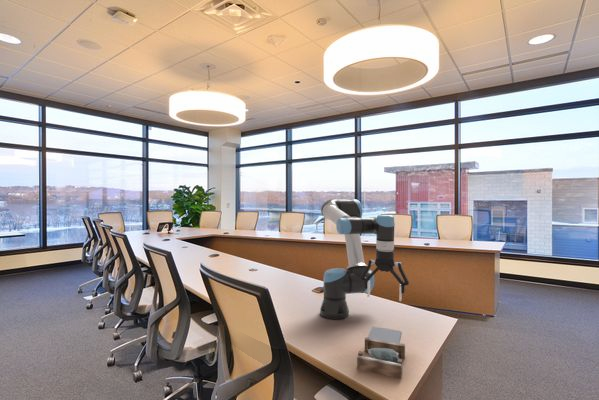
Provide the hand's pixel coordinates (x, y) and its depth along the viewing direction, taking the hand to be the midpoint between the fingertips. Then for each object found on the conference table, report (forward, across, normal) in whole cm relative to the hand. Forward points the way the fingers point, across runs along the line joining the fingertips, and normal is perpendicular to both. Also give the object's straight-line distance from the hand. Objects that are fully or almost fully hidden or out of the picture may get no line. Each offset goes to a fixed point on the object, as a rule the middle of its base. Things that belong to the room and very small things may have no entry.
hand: (384, 298), depth 137 cm
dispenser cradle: (+17, +2, -23) cm, 28 cm away
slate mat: (+17, 0, -1) cm, 17 cm away
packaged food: (+18, +6, -21) cm, 28 cm away
